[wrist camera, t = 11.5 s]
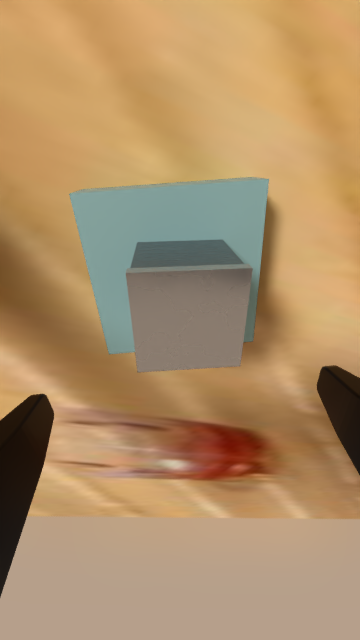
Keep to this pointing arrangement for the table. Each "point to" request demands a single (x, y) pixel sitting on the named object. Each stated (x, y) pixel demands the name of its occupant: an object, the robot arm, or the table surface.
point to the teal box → (164, 236)
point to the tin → (187, 304)
